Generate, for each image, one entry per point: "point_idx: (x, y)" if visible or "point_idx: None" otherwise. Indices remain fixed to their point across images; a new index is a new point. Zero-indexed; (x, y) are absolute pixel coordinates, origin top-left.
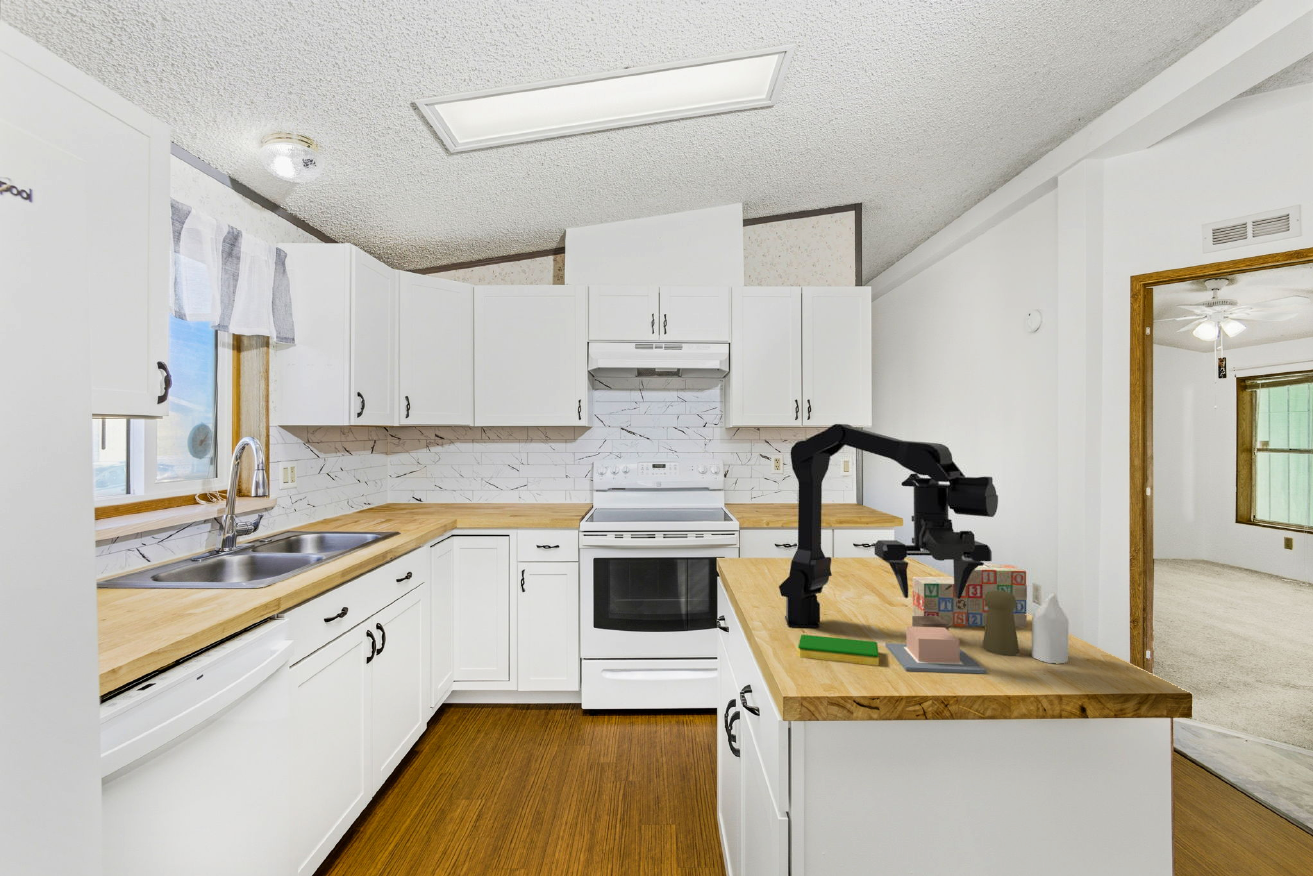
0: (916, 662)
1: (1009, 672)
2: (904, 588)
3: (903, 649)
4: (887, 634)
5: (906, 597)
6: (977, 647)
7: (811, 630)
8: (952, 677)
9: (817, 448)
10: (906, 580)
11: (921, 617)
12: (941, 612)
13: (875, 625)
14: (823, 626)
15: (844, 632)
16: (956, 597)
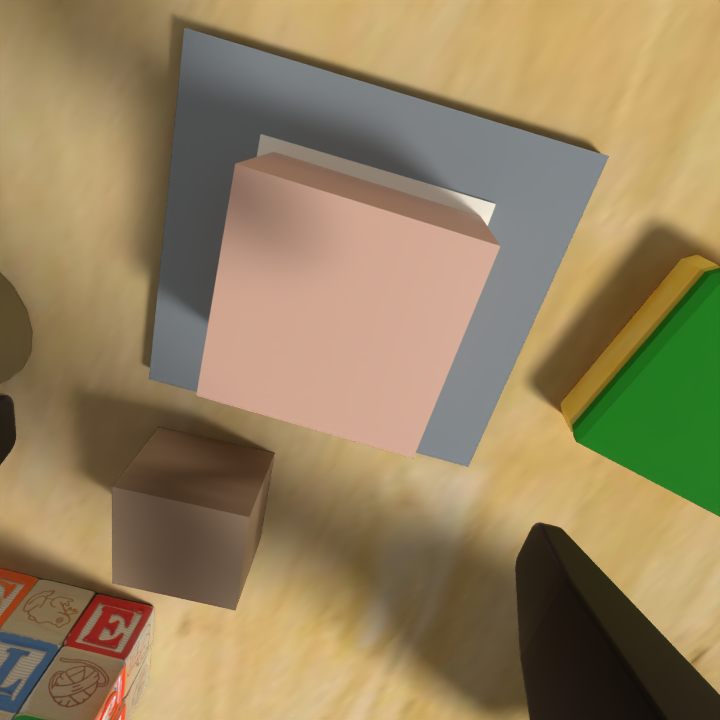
0: (496, 212)
1: (51, 26)
2: (632, 608)
3: None
4: (363, 564)
5: (555, 526)
6: (50, 364)
7: None
8: (410, 12)
9: None
10: (668, 712)
11: (201, 585)
12: (50, 639)
13: (350, 645)
14: None
15: None
16: (12, 429)
